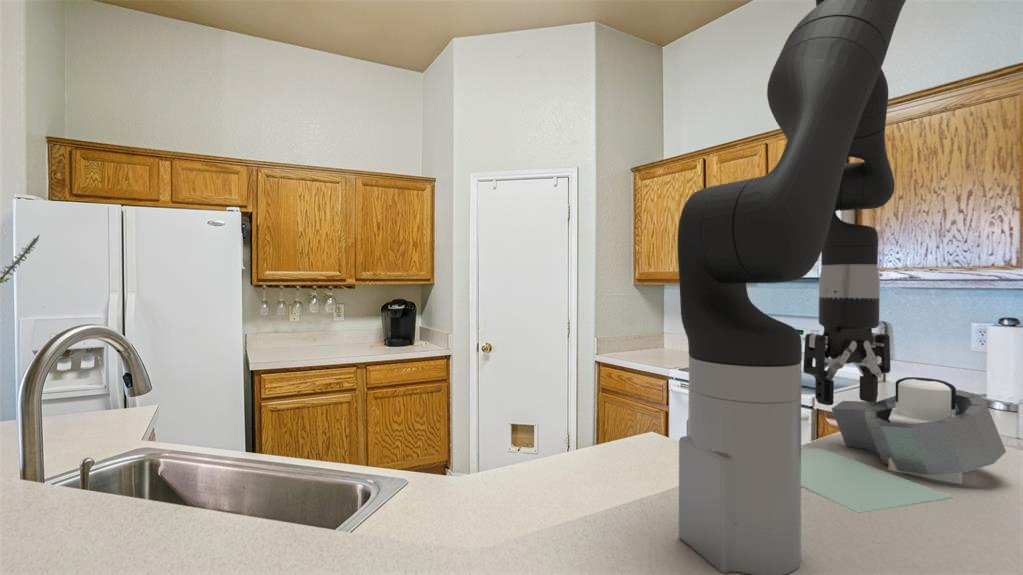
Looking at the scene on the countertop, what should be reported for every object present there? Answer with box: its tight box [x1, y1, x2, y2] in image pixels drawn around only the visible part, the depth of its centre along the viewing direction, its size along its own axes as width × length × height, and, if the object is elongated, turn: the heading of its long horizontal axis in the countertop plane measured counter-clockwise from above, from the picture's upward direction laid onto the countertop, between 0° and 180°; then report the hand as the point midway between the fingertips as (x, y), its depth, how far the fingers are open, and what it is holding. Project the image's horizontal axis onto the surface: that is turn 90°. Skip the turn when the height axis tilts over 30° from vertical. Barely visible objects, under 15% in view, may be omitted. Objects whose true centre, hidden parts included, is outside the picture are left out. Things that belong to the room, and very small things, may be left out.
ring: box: [831, 389, 1007, 475], centre depth 66 cm, size 12×18×6 cm
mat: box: [801, 447, 954, 514], centre depth 61 cm, size 14×17×1 cm
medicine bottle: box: [887, 376, 963, 485], centre depth 64 cm, size 7×7×12 cm
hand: (846, 402), depth 73 cm, fingers open, 8 cm apart
